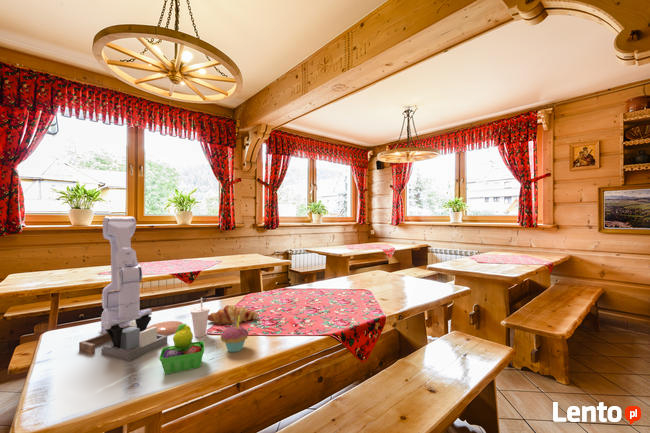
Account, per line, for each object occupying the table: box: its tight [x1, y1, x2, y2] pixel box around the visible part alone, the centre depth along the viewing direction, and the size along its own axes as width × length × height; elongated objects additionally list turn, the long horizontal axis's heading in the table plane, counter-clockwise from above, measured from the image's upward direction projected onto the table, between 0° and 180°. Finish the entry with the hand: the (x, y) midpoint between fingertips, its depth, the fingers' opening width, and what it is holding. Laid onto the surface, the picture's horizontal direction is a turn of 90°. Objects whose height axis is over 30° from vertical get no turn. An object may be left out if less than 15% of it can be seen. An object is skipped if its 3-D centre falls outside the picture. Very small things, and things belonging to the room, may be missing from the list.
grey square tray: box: [101, 327, 168, 362], centre depth 93 cm, size 13×13×7 cm
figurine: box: [230, 318, 238, 327], centre depth 105 cm, size 5×4×6 cm
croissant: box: [207, 304, 259, 325], centre depth 119 cm, size 21×10×8 cm, turn 103°
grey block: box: [120, 326, 140, 351], centre depth 94 cm, size 4×4×6 cm
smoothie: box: [190, 297, 210, 338], centre depth 103 cm, size 6×6×14 cm
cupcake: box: [220, 314, 249, 353], centre depth 93 cm, size 9×8×12 cm
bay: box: [78, 325, 137, 355], centre depth 97 cm, size 6×16×3 cm, turn 158°
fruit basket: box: [158, 323, 205, 375], centre depth 82 cm, size 11×9×11 cm
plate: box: [146, 320, 184, 336], centre depth 109 cm, size 13×13×1 cm
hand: (129, 343), depth 94 cm, fingers open, 7 cm apart
